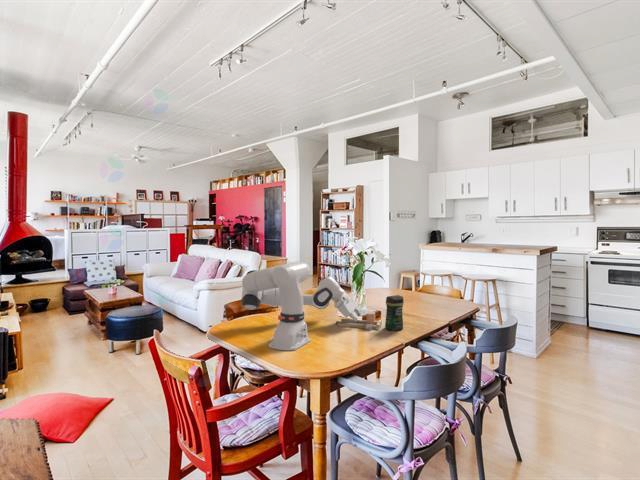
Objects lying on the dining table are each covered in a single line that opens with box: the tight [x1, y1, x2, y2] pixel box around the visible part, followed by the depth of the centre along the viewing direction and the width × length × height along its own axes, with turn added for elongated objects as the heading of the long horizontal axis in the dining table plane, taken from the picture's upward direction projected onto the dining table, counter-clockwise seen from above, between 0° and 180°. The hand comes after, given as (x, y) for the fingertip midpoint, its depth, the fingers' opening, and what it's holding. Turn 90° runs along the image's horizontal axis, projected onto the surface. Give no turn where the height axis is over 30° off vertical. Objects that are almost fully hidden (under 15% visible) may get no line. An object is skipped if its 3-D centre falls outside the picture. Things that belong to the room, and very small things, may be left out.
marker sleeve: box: [366, 310, 376, 325], centre depth 202 cm, size 5×4×8 cm
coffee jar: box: [384, 294, 405, 332], centre depth 199 cm, size 10×8×19 cm
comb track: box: [337, 318, 383, 331], centre depth 204 cm, size 14×24×3 cm, turn 72°
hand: (358, 317), depth 205 cm, fingers open, 8 cm apart
